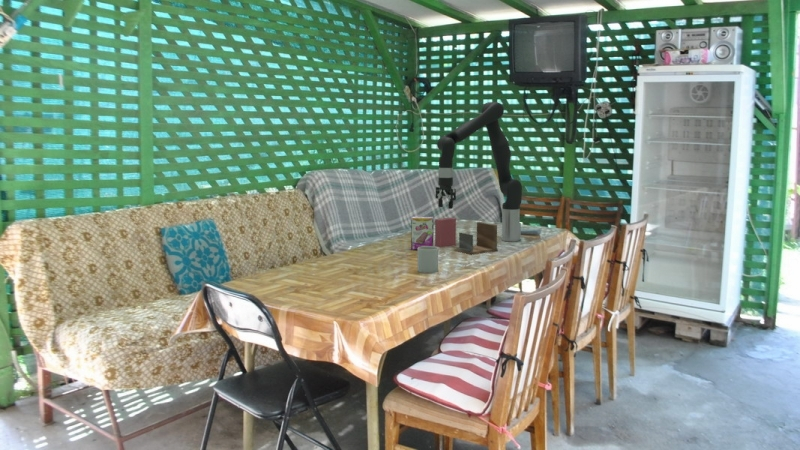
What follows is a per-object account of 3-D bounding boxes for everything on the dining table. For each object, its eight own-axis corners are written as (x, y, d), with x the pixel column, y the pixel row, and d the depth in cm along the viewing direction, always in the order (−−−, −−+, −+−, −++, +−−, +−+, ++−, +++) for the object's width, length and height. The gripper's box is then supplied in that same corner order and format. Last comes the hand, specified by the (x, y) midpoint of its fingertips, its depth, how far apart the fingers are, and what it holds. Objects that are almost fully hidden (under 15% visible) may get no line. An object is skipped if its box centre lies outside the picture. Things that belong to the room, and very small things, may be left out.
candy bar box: (411, 250, 337) (410, 217, 334) (411, 248, 342) (411, 216, 339) (433, 250, 336) (433, 217, 333) (433, 248, 341) (433, 216, 338)
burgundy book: (450, 244, 354) (450, 217, 352) (455, 245, 350) (455, 218, 348) (435, 246, 348) (435, 219, 346) (440, 247, 344) (440, 220, 342)
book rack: (480, 247, 343) (480, 222, 341) (497, 251, 332) (497, 225, 331) (454, 250, 334) (454, 224, 332) (470, 254, 323) (470, 228, 321)
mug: (423, 273, 282) (423, 250, 281) (413, 269, 291) (413, 247, 289) (446, 271, 287) (446, 248, 286) (434, 267, 296) (434, 244, 294)
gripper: (460, 177, 340) (459, 208, 342) (443, 175, 352) (443, 206, 354) (448, 177, 336) (448, 209, 338) (431, 176, 348) (431, 207, 350)
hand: (445, 207), depth 346 cm, fingers open, 8 cm apart
